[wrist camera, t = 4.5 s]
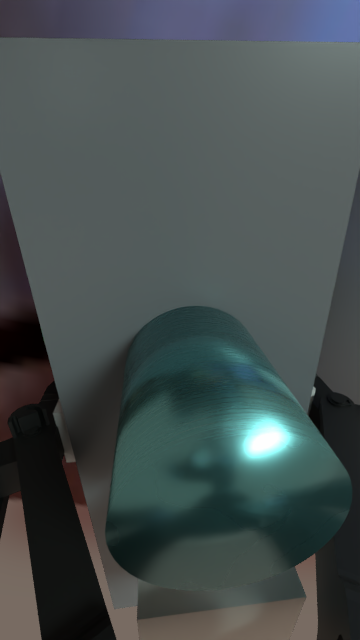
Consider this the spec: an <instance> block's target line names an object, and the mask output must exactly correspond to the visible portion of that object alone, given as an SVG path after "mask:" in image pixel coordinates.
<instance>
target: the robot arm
mask: <svg viewBox="0 0 360 640" xmlns="http://www.w3.org/2000/svg"><path fill="white" fill-rule="evenodd" d="M307 415H308V416H309V418H310V419H311V421H312V422H313V423H314V425H315V426H316V428H317V429H318V430H319V432H320V433H321V435H322V436H323V438H324V439H325V440H326V442H327V443H328V445H329V446H330V447H331V449H332V450H333V452H334V453H335V455H336V456H337V457H338V459H339V460H340V462H341V463H342V464H343V466H344V467H345V469H346V470H347V472H348V475H349V477H350V480H351V484H352V502H351V506H350V510H349V512H348V514H347V517H346V519H345V521H344V522H343V524H342V525H341V527H340V529H339V530H338V531H337V532H336V534H335V535H334V536H333V537H332V538H331V539H330V540H329V541H328V542H327V543H326V544H325V545H324V546H323V547H322V548H321V549H319V550H318V551H317V552H316V553H315V555H316V581H317V602H318V604H317V606H318V634H317V640H360V405H357V404H354V402H353V401H352V400H351V399H350V398H349V397H347V396H345V395H343V394H340V393H337V392H333V391H332V390H331V389H330V388H329V387H328V386H327V385H326V384H325V383H324V381H323V380H322V379H321V378H320V377H319V376H318V375H317V374H316V376H315V380H314V385H313V390H312V395H311V399H310V404H309V409H308V413H307ZM8 425H9V428H10V431H11V433H12V436H13V438H10V439H8V440H5V441H2V442H0V538H1V533H2V528H3V523H4V518H5V513H6V508H7V504H8V499H9V495H10V494H13V493H15V492H18V491H21V495H22V502H23V509H24V516H25V524H26V531H27V537H28V545H29V552H30V559H31V566H32V574H33V580H34V588H35V594H36V602H37V609H38V616H39V624H40V630H41V637H42V640H116V637H115V633H114V630H113V627H112V624H111V621H110V618H109V615H108V612H107V608H106V605H105V602H104V599H103V595H102V592H101V589H100V586H99V582H98V579H97V576H96V573H95V569H94V566H93V563H92V560H91V556H90V553H89V550H88V547H87V543H86V540H85V537H84V533H83V531H82V527H81V524H80V520H79V517H78V514H77V511H76V507H75V504H74V501H73V498H72V494H71V491H70V488H69V485H68V481H67V478H66V475H65V472H64V468H63V465H62V459H63V456H64V455H65V458H66V462H67V463H68V462H76V460H75V457H74V453H73V449H72V445H71V441H70V437H69V434H68V430H67V426H66V422H65V418H64V414H63V411H62V407H61V403H60V399H59V395H58V391H57V388H56V384H55V381H53V382H52V383H51V384H50V385H49V386H48V387H47V389H46V391H45V393H44V396H43V397H42V399H41V402H40V403H39V404H30V405H26V406H23V407H21V408H19V409H17V410H16V411H15V412H13V413H12V414H11V416H10V417H9V418H8Z"/></svg>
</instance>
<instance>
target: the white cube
mask: <svg viewBox="0 0 360 640" xmlns="http://www.w3.org/2000/svg"><path fill="white" fill-rule="evenodd" d="M305 600H306V595H305V592H304V589H303V587H302V584H301V582H300V579H299V577H298V574H297V571H296V569H295V566H294V567H292V568H290V569H288V570H286V571H284V572H282V573H280V574H277V575H275V576H272V577H270V578H267V579H264V580H261V581H258V582H255V583H251V584H247V585H243V586H239V587H234V588H228V589H220V590H210V591H185V590H176V589H169V588H164V587H160V586H156V585H153V584H150V583H147V582H145V581H142V580H140V579H138V609H137V623H138V632H139V640H289V639H290V637H291V634H292V632H293V630H294V627H295V625H296V622H297V620H298V617H299V615H300V612H301V610H302V607H303V604H304V602H305Z"/></svg>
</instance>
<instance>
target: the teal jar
mask: <svg viewBox="0 0 360 640" xmlns="http://www.w3.org/2000/svg"><path fill="white" fill-rule="evenodd" d="M351 502H352V484H351V480H350V477H349V475H348V472H347V470H346V469H345V467H344V466H343V464H342V463H341V462H340V460H339V459H338V457H337V456H336V455H335V453H334V452H333V450H332V449H331V447H330V446H329V445H328V443H327V442H326V440H325V439H324V438H323V436H322V435H321V433H320V432H319V430H318V429H317V428H316V426H315V425H314V423H313V422H312V421H311V419H310V418H309V416H308V415H307V414H306V412H305V411H304V409H303V408H302V406H301V405H300V404H299V402H298V401H297V399H296V398H295V397H294V395H293V394H292V392H291V391H290V390H289V388H288V387H287V385H286V384H285V382H284V381H283V380H282V378H281V377H280V375H279V374H278V373H277V371H276V370H275V368H274V367H273V365H272V364H271V363H270V361H269V360H268V358H267V357H266V356H265V354H264V353H263V351H262V350H261V349H260V347H259V346H258V344H257V343H256V341H255V340H254V339H253V337H252V336H251V334H250V333H249V332H248V330H247V329H246V327H245V326H244V325H243V324H242V323H241V322H240V321H239V320H237V319H236V318H235V317H233V316H232V315H230V314H228V313H227V312H224V311H222V310H219V309H216V308H212V307H205V306H187V307H181V308H176V309H173V310H170V311H167V312H165V313H163V314H161V315H159V316H157V317H155V318H154V319H152V320H151V321H150V322H148V323H147V324H146V325H145V326H144V327H143V328H142V329H141V330H140V331H139V332H138V333H137V335H136V336H135V338H134V339H133V341H132V343H131V345H130V347H129V349H128V353H127V357H126V364H125V372H124V380H123V388H122V397H121V405H120V413H119V421H118V429H117V437H116V445H115V453H114V461H113V469H112V477H111V486H110V494H109V502H108V510H107V518H106V527H105V538H106V544H107V546H108V549H109V552H110V553H111V555H112V557H113V558H114V560H115V561H116V562H117V563H118V564H119V565H120V566H121V568H123V569H124V570H125V571H127V572H128V573H129V574H131V575H133V576H134V577H136V578H138V579H140V580H142V581H145V582H147V583H150V584H153V585H156V586H160V587H164V588H169V589H176V590H185V591H210V590H220V589H228V588H234V587H239V586H243V585H247V584H251V583H255V582H258V581H261V580H264V579H267V578H270V577H272V576H275V575H277V574H280V573H282V572H284V571H286V570H288V569H290V568H292V567H294V566H296V565H298V564H299V563H301V562H302V561H304V560H306V559H307V558H309V557H310V556H312V555H313V554H314V553H316V552H317V551H318V550H319V549H321V548H322V547H323V546H324V545H325V544H326V543H327V542H328V541H329V540H330V539H331V538H332V537H333V536H334V535H335V534H336V532H337V531H338V530H339V529H340V527H341V525H342V524H343V522H344V521H345V519H346V517H347V514H348V512H349V510H350V506H351Z"/></svg>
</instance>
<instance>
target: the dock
mask: <svg viewBox="0 0 360 640" xmlns="http://www.w3.org/2000/svg"><path fill="white" fill-rule="evenodd" d="M316 374H317V375H318V376H319V377H320V378H321V379H322V380H323V381H324V383H325V384H326V385H327V386H328V387H329V388H330V389H331V390H332V391H333V392H337V393H340V394H343V395H345V396H347V397H349V398H350V399H351V400H352V401H353V402H354V404H357V405H360V169H359V174H358V179H357V183H356V188H355V193H354V197H353V202H352V207H351V211H350V216H349V221H348V226H347V230H346V235H345V240H344V244H343V249H342V254H341V258H340V263H339V268H338V272H337V277H336V282H335V287H334V291H333V296H332V301H331V305H330V310H329V315H328V319H327V324H326V329H325V333H324V338H323V343H322V348H321V352H320V357H319V362H318V366H317V371H316Z"/></svg>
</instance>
